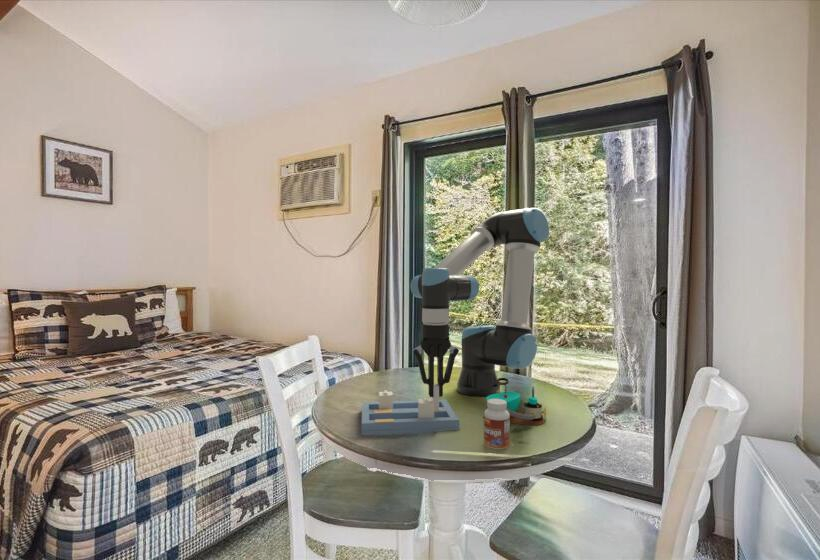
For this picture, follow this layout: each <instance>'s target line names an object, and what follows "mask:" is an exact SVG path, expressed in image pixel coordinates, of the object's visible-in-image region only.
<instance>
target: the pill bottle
mask: <svg viewBox="0 0 820 560" xmlns="http://www.w3.org/2000/svg"><path fill="white" fill-rule="evenodd" d="M486 407H487V408H486V409H485V411H484V413H483V416H484V418H483V445H484V446H486V447H487V448H490V449H496V450H502V449H508V448H509V447H510V438H511V437H510V433H511V432H510V427H511V426H510V424H511V423H510V414H509V412H508V411H507V410H506V408H507V402H506V401H505V400H502V399H489V400H486Z"/></svg>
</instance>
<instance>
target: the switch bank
mask: <svg viewBox="0 0 820 560" xmlns="http://www.w3.org/2000/svg"><path fill="white" fill-rule="evenodd" d="M458 430H461V429H460V418H459V417H458V415H457V414H456V412H455V411H454V409H453V408H452V406H451V405H450V404H449V402H448V400H447V399H445V398H444V399H439V410H434V418H418V399H416V400H415V399H414V400H393V409H379V401H362V403H361V436H362V435H379V436H395V435H396V436H398V435H419V434H420V435H421V434H422V435H423V434H436V433H437V432H438V431H440V432H442V431H458ZM392 434H393V435H392Z"/></svg>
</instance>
